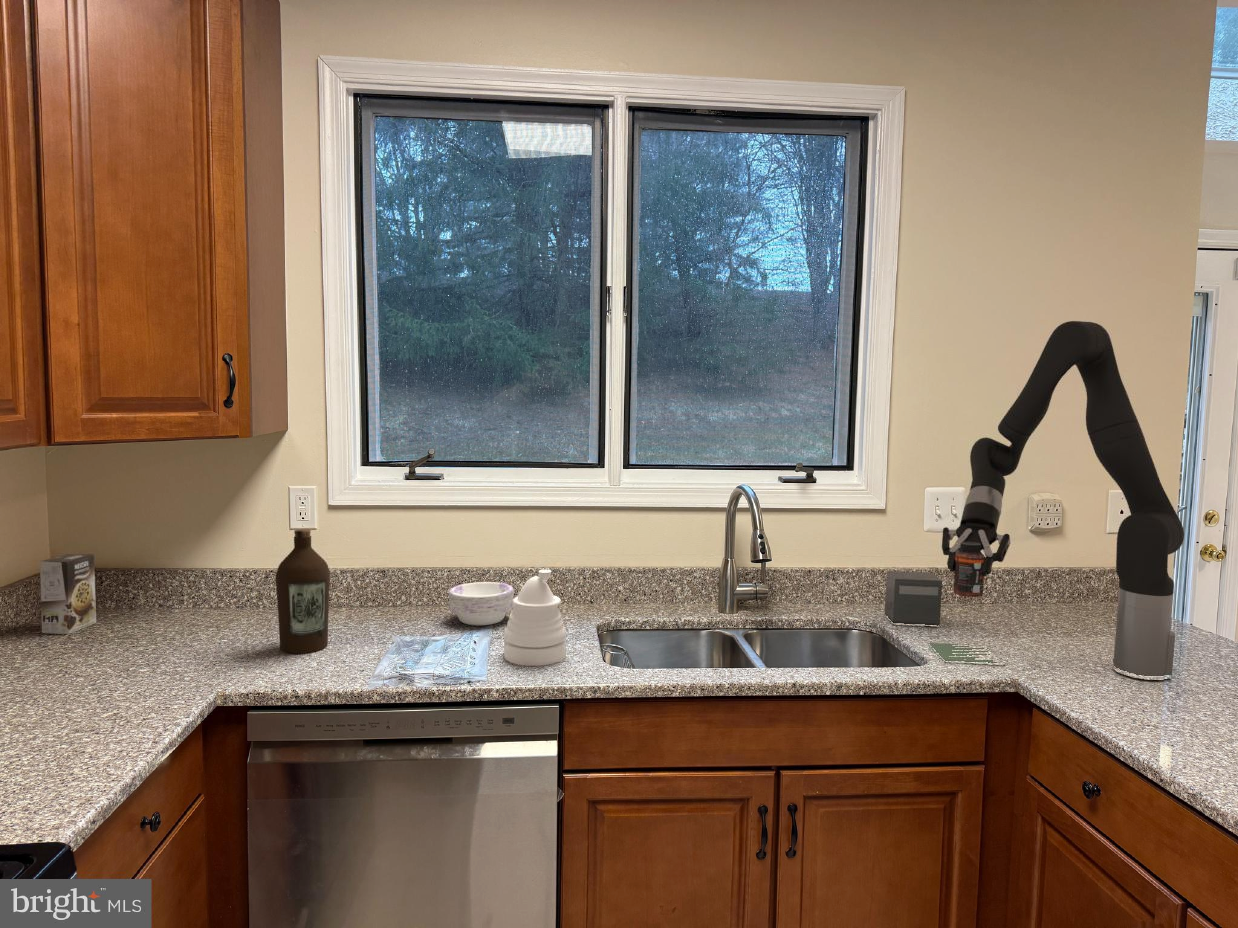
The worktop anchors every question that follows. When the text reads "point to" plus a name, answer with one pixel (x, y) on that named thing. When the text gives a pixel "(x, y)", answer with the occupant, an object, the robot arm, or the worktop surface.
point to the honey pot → (535, 626)
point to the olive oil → (303, 598)
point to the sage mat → (946, 651)
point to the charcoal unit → (913, 597)
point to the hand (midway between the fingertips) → (967, 571)
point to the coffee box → (67, 593)
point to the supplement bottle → (969, 570)
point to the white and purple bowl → (481, 602)
